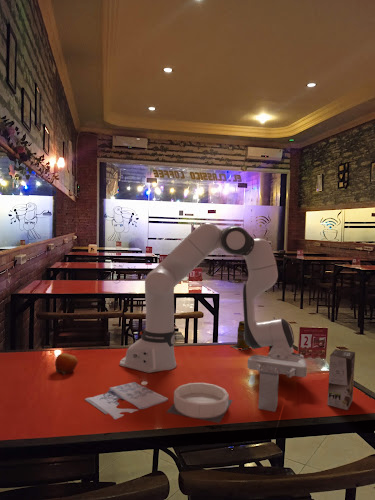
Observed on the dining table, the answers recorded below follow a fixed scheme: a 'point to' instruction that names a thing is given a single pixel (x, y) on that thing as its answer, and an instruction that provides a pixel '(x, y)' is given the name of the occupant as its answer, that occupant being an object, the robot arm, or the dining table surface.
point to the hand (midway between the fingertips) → (274, 372)
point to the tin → (268, 388)
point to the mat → (215, 419)
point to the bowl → (201, 400)
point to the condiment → (241, 338)
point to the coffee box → (341, 379)
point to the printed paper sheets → (127, 392)
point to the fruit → (65, 363)
